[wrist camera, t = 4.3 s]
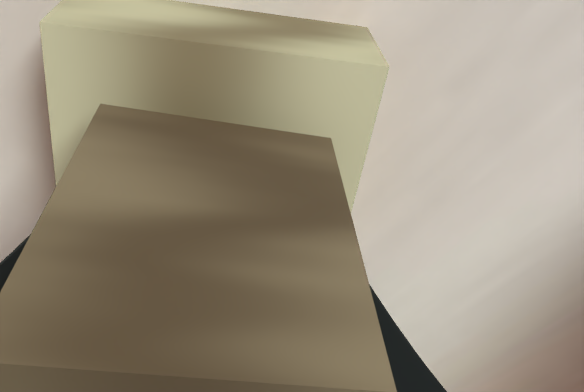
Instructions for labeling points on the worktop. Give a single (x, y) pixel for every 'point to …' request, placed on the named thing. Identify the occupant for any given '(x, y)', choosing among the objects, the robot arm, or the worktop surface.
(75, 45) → the oak block
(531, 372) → the worktop surface
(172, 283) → the walnut block
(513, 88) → the worktop surface
